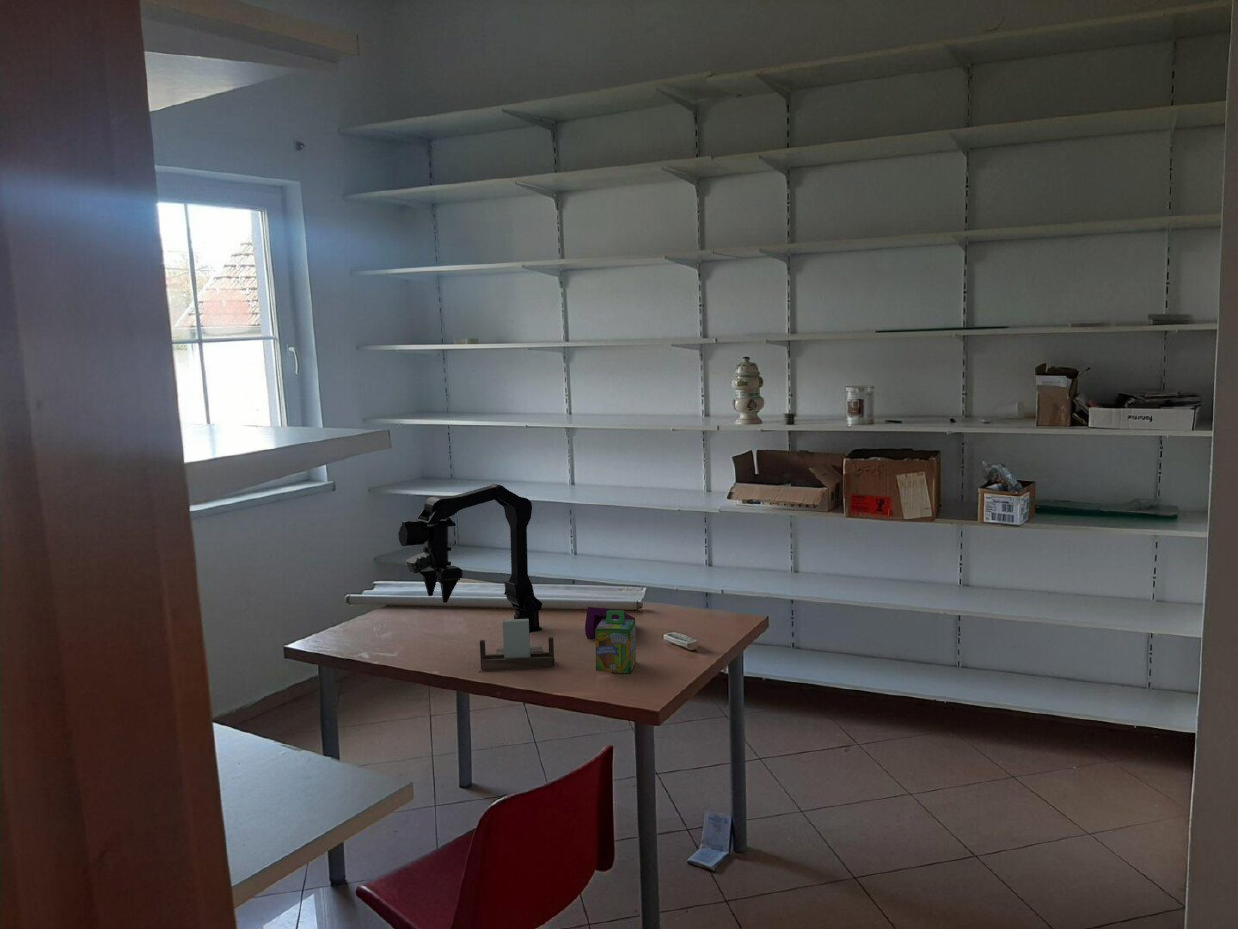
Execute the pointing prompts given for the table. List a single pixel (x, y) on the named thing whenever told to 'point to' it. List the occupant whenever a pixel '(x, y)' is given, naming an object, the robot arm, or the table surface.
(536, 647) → the upper offcut
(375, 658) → the table surface
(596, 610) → the mounting bracket
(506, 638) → the sage panel
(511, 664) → the walnut rack
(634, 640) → the chalk box
